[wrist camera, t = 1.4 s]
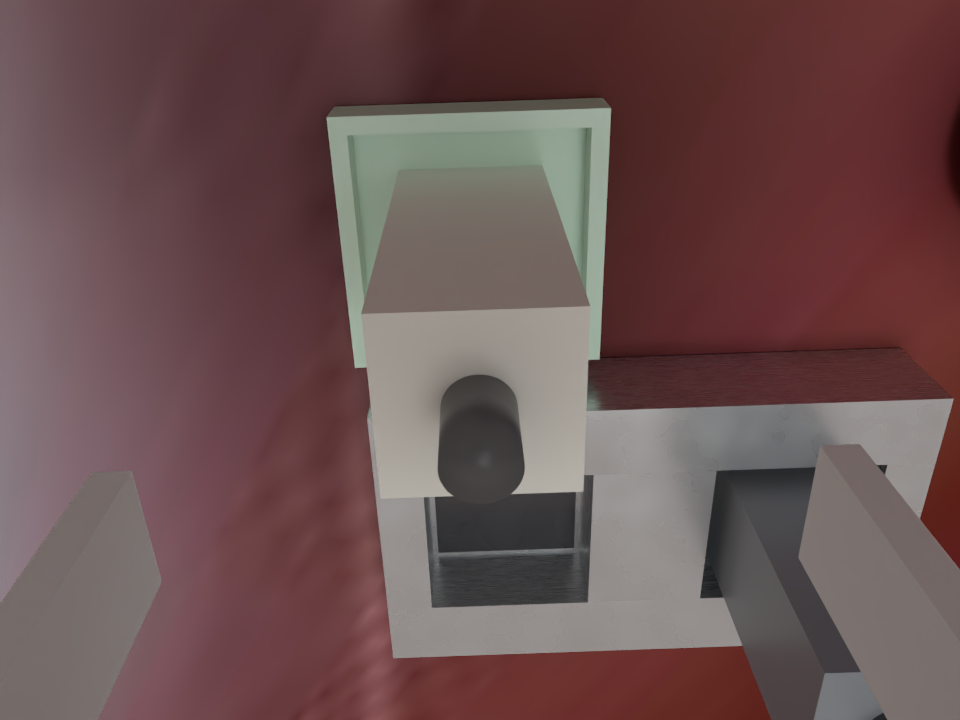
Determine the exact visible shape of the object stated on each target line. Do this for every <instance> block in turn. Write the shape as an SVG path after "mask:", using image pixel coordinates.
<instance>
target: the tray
mask: <svg viewBox="0 0 960 720" xmlns="http://www.w3.org/2000/svg"><path fill="white" fill-rule="evenodd" d="M326 118H327V127H328V135H329V144H330V153H331V162H332V170H333V179H334V188H335V197H336V206H337V214H338V223H339V232H340V241H341V249H342V258H343V267H344V276H345V285H346V293H347V302H348V311H349V320H350V328H351V337H352V346H353V355H354V363H355V368H365V367H367V366H366V356H365V347H364V337H363V328H362V319H361V312H362V308H363V305H364V301H365V297H366V293H367V289H368V286H369V282H370V278H371V274H372V270H373V267H374V263H375V259H376V255H377V251H378V248H379V244H380V240H381V236H382V232H383V229H384V225H385V221H386V217H387V213H388V210H389V206H390V202H391V198H392V194H393V191H394V187H395V183H396V179H397V175H398V172H399V170H415V169H445V168H475V167H505V166H536V165H543V168H544V171H545V174H546V177H547V180H548V183H549V186H550V189H551V192H552V195H553V198H554V201H555V204H556V206H557V209H558V212H559V215H560V218H561V221H562V224H563V227H564V230H565V233H566V236H567V239H568V242H569V245H570V248H571V251H572V254H573V256H574V259H575V262H576V265H577V268H578V271H579V274H580V277H581V280H582V283H583V286H584V289H585V292H586V295H587V298H588V301H589V304H590V331H589V357H588V360H600V341H601V319H602V297H603V275H604V253H605V231H606V210H607V188H608V166H609V144H610V122H611V107H610V106H609V105H608V104H607V102H606V101H605V100H604V99H603V98H581V99H550V100H520V101H489V102H459V103H428V104H398V105H368V106H337V107H334V108H333V109H332V110H331V112H330V113H329V114H328V116H327V117H326Z"/></svg>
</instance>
